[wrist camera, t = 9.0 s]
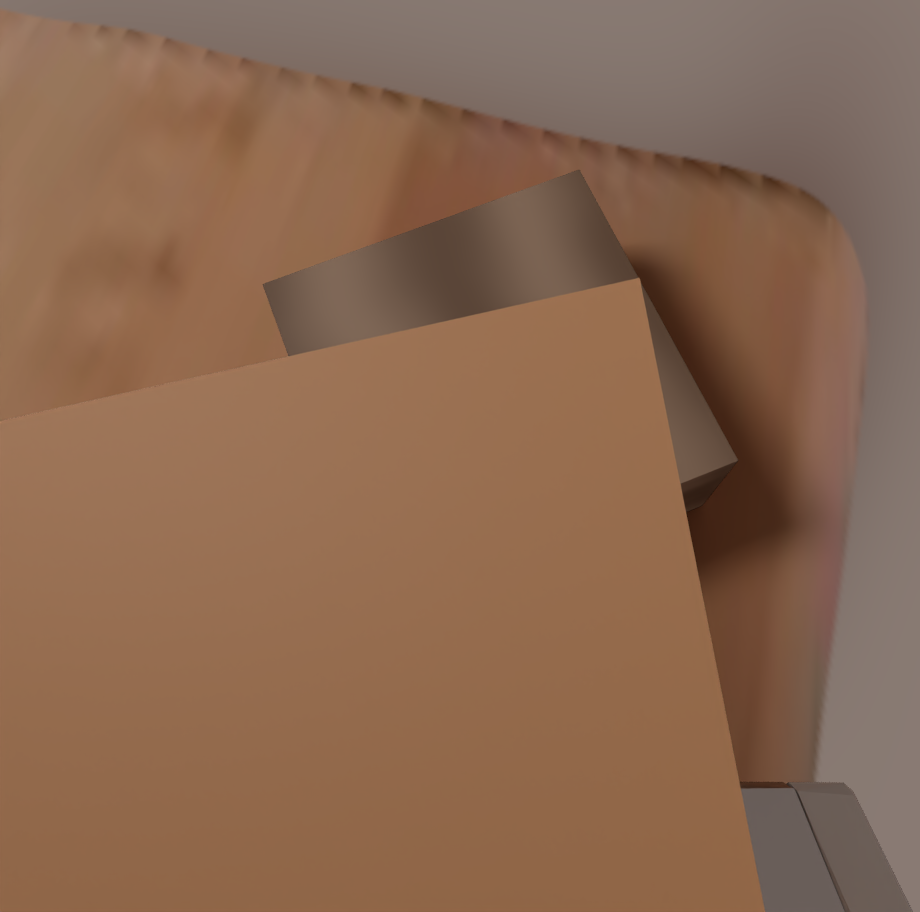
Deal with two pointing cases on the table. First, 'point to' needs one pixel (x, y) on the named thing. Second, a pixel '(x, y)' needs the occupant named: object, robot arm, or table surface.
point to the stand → (496, 295)
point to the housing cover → (368, 636)
